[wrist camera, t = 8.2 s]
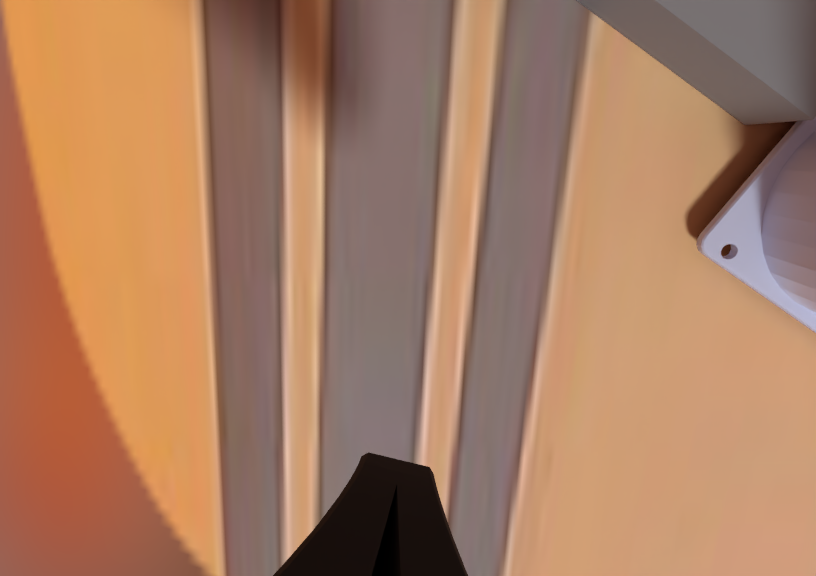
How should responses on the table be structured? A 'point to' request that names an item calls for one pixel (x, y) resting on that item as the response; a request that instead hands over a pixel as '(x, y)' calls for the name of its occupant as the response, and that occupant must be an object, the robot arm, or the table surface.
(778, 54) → the bench plate
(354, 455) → the table surface
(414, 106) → the table surface
